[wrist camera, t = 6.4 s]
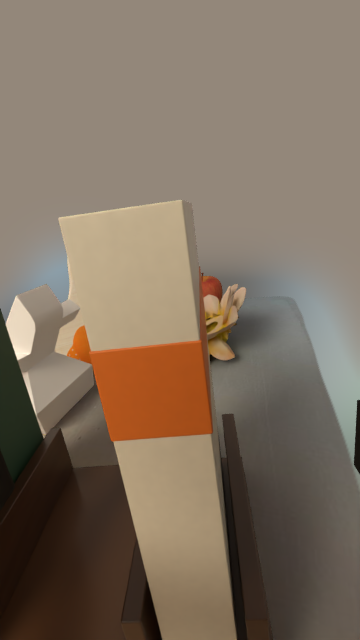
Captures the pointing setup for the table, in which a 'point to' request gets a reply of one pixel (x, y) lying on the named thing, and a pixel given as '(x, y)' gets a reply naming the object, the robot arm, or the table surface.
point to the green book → (15, 410)
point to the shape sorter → (74, 332)
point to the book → (159, 403)
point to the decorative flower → (222, 320)
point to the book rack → (103, 553)
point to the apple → (211, 287)
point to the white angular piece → (47, 355)
